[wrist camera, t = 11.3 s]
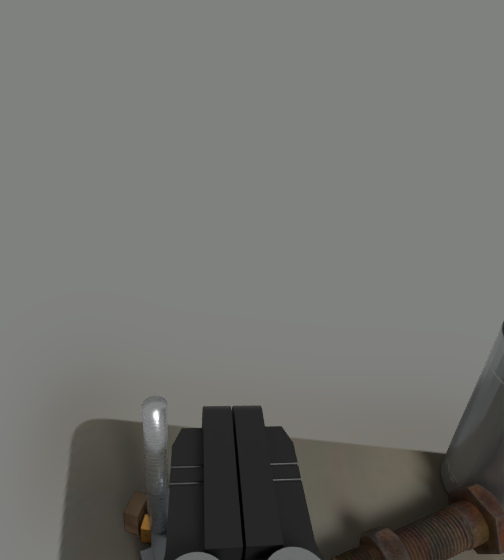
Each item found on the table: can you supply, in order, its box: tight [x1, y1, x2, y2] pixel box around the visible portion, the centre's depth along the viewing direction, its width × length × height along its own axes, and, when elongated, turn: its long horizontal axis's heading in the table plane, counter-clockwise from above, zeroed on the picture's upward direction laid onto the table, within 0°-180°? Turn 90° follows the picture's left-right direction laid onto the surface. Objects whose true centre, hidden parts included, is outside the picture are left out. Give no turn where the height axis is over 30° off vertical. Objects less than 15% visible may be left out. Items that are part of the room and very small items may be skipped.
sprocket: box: [140, 396, 169, 560], centre depth 33 cm, size 11×11×15 cm
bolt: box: [331, 484, 504, 560], centre depth 36 cm, size 6×5×15 cm
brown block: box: [124, 491, 148, 535], centre depth 37 cm, size 1×2×2 cm, turn 166°
